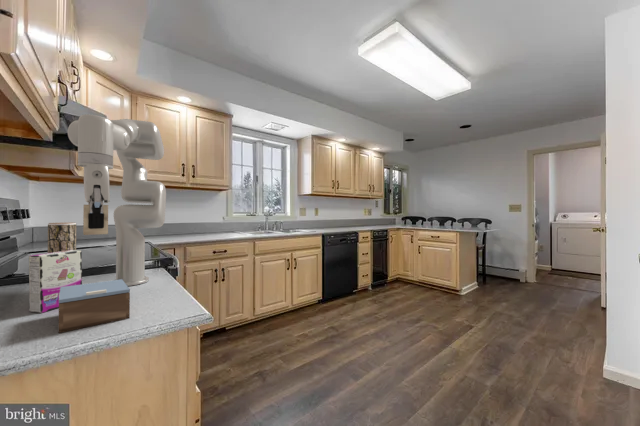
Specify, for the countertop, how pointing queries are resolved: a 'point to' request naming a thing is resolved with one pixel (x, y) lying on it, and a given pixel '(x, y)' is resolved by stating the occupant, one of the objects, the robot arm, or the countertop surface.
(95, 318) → the walnut box
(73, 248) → the bark log
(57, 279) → the candy bar box
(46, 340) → the countertop surface
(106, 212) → the birch block
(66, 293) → the box lid
